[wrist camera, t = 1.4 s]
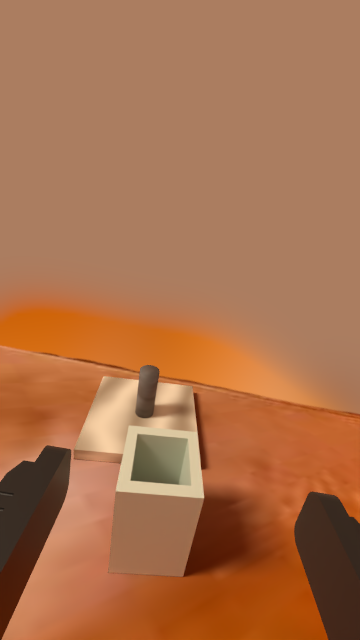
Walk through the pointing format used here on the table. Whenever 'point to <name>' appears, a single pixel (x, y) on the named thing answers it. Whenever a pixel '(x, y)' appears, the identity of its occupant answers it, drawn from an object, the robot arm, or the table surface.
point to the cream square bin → (156, 502)
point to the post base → (133, 413)
